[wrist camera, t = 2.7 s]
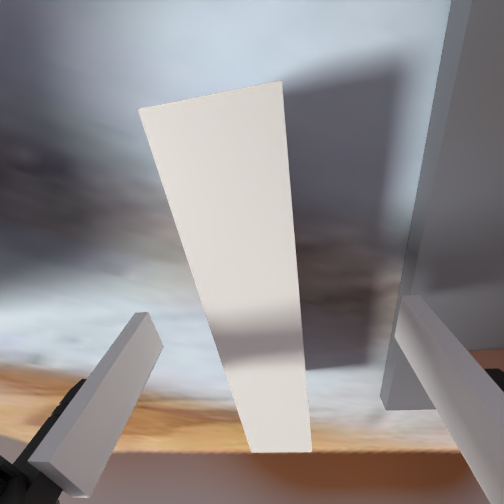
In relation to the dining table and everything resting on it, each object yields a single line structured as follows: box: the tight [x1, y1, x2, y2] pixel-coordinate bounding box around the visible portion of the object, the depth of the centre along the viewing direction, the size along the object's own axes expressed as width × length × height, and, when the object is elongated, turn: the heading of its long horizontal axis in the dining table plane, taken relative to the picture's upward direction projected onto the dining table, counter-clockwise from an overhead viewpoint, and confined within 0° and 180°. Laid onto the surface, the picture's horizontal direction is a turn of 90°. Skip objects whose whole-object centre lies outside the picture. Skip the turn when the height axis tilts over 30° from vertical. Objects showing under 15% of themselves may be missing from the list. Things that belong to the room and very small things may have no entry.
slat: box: [138, 80, 312, 452], centre depth 14 cm, size 4×20×6 cm, turn 9°
